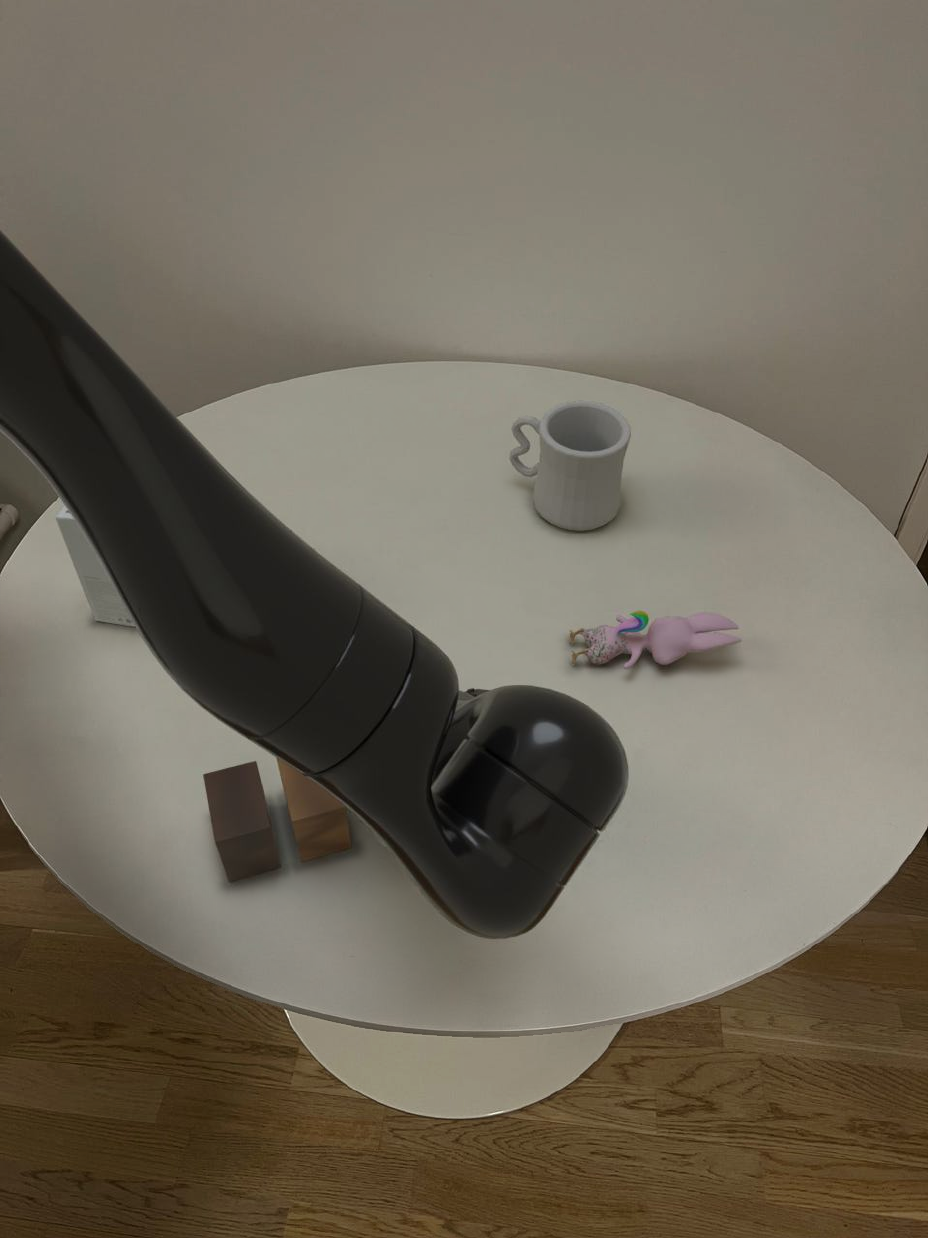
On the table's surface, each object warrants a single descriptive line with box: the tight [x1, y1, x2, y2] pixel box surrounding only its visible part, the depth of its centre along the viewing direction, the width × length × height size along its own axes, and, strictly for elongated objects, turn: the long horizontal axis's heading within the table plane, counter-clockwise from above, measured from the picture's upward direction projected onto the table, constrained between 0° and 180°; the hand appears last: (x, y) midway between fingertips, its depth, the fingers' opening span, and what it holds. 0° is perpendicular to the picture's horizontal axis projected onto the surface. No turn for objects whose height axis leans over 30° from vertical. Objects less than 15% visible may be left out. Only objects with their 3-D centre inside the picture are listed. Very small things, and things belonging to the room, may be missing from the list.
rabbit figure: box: [569, 610, 743, 670], centre depth 89 cm, size 6×6×15 cm
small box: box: [55, 504, 136, 628], centre depth 90 cm, size 8×6×13 cm
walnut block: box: [202, 760, 282, 883], centre depth 76 cm, size 4×6×6 cm, turn 18°
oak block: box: [276, 758, 352, 863], centre depth 77 cm, size 4×6×6 cm, turn 18°
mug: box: [508, 400, 632, 532], centre depth 101 cm, size 12×9×10 cm
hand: (393, 717), depth 75 cm, fingers closed on ink box, 5 cm apart
